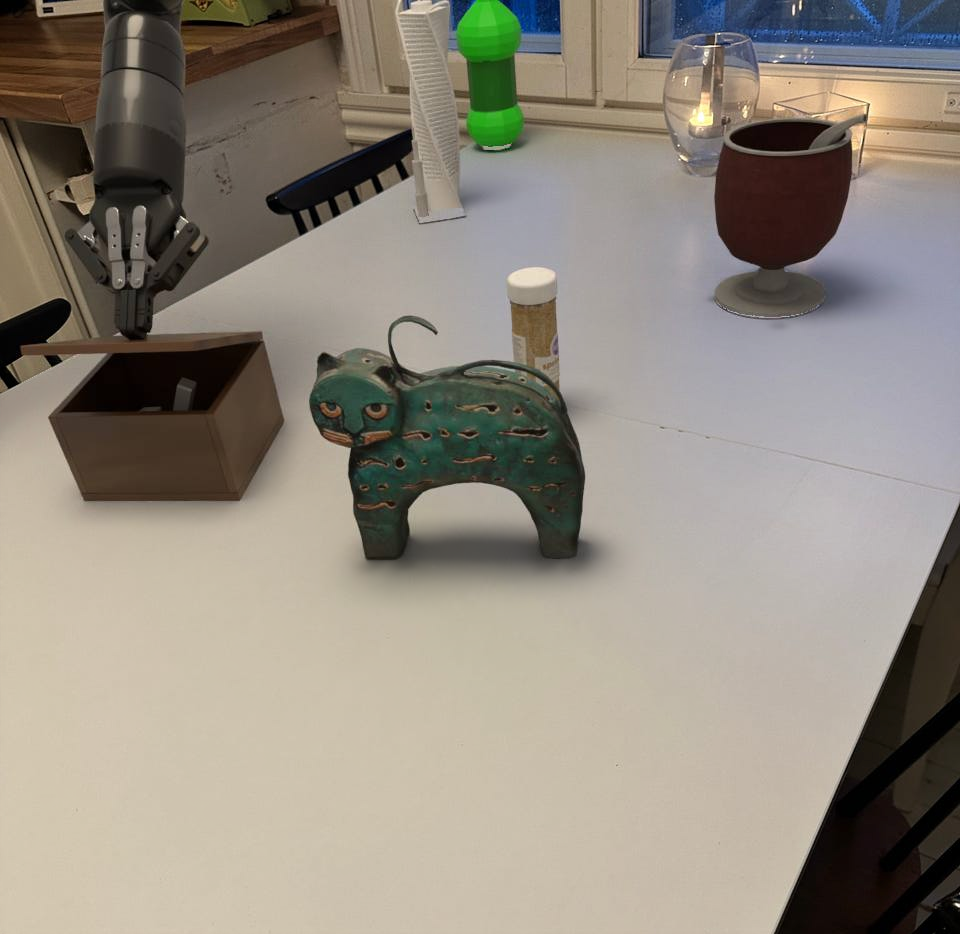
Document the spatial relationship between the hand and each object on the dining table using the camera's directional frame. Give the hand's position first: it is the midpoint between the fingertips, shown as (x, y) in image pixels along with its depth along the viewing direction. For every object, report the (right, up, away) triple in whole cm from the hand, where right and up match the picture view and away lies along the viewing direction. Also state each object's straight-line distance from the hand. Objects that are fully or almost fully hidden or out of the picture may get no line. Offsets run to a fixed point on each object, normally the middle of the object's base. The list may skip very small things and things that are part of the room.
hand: (132, 336), depth 84 cm
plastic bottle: (+33, +59, +83) cm, 107 cm away
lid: (0, 0, +3) cm, 3 cm away
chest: (+2, -9, +11) cm, 14 cm away
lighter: (+1, -9, +10) cm, 13 cm away
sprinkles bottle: (+36, -4, +12) cm, 38 cm away
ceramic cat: (+29, -19, -4) cm, 35 cm away
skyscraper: (+25, +38, +60) cm, 75 cm away
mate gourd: (+64, +13, +27) cm, 71 cm away
